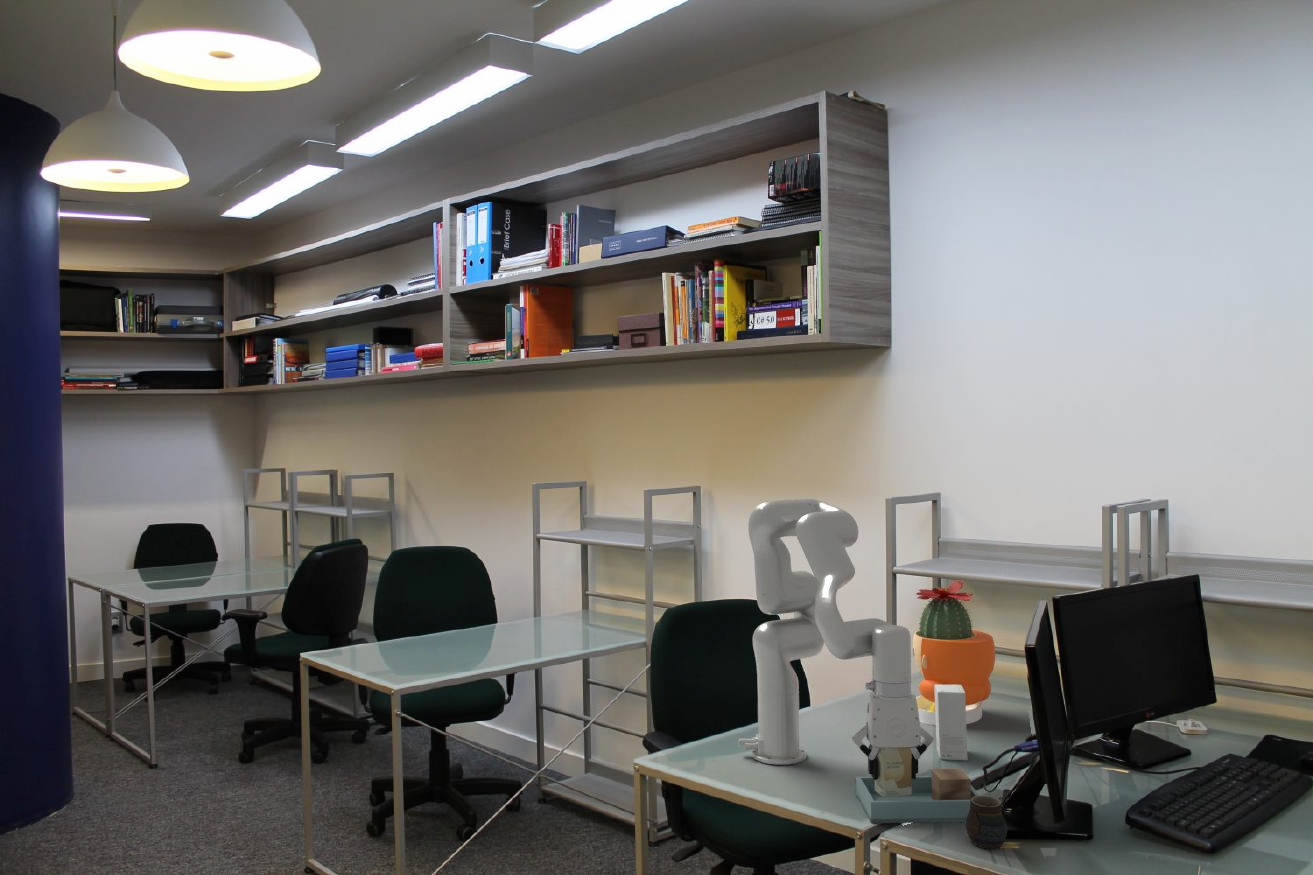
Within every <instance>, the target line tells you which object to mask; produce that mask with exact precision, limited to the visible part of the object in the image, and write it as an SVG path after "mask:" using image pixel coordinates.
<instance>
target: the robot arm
mask: <svg viewBox="0 0 1313 875" xmlns="http://www.w3.org/2000/svg"><path fill="white" fill-rule="evenodd" d="M748 518H749V519H748V523H747V524H748V529H747V530H748V536H749V540H750V545H751V547H752V552H753V559H754V560H753V561H754V577H755V578H754V579H755V592H756V595H755V596H756V601H757V606H758V608H759V610H760V611H761V612H762V613H763V614H766V615H769V616H771V615H772V616H774V615H782V614H783V615H785V614H793V616H794V617H793V618H792V617H791V618H783V619H776V620H771V621H766V622H764V623H761V624H760V625H758V626H757V628H755V630H754V631H753V634H752V647H753V652H754V657H755V658H754V659H755V663H756V674H757V678H756V679H757V681H756V682H757V724H758V725H757V727H758V728H757V731H758V732H757V733H755V736H752V737H751V738H738V748H744V749H745V750H751V756H752V758H753V759H754V760H756V761H758V762H760V763H763V764H769V765H776V766H777V765H778V766H779V765H780V766H782V765H783V766H784V765H794V764H795V765H796V764H798V763H799V764H800V763H801V762H803V761H804V760H805V759H807V751H806V750H805V749H804V748H803V747H801V746H800V695H799V694H800V691H799V688H800V687H799V686H800V685H799V684H800V683H799V678H798V676H797V673H796V671H795V669H794V668H793V666H792V664H791V661H796V660H801V659H807V658H812V657H815V656H817V655H819V654H820V653H821V652H822V650H823V649H824V648H823V647H824V645H825V647H826V648H827V649H828V651H829V653H831V655H833V656H834V657H835V658H836V659H839V660H852V659H853V660H854V659H858V658H864V657H865V658H866V657H872V658H871V659H872V660H871V661H872V665H871V666H872V678H871V680H870V682H865V684H864V685H865V690H866V691H868V690H869V691H871V693H869V696H868V702H867V709H866V711H867V712H866V719H865V720H866V722H865V723H866V724H865V725H864V726H863V727H862V728H860V730H859V731H858V732H856V733H855V734H854V735H852V737H851V739H852V741H853V743H854V744H855V745H856V746H857V747H858V748H859V750H860V751H861V752H862V753H863V754H864V755H865V756H866V757H867V770H868V774H869V775H871V776H870V777H873V779H874V780H877V779H878V761H877V759H876V754H877V752H878V750H879V748H910V750H911V752H912V779H916V776H917V774H919V760H920V758H921V756H922V755H923V754H924V753H925V752H926V751H927V750H928V747H929V746H930V745H932V743H933V741H935V740H934V737H933V736H932V734H930V733H929V732H927V730H925V729H924V728H923V727H921V724H920V723H921V722H920V721H919V712H918V705H917V700H916V697H917V696H916V695H914V694H913V693H912V652H911V651H912V649H911V643H912V642H911V641H912V639H911V632H910V630H909V629H908V628H907V627H906V626H902V625H896V624H891V623H888V622H887V621H885V620H883V619H880V618H874V617H872V618H864V619H855V620H854V619H853V620H848V621H844V620H843V617H842V615H841V613H840V610H839V608H838V605H837V593H838V590H839V589H841V588H843V587H844V586H846V585H847V584H848V583H849V582H851V580H852V579H853V578H854V576H855V575H856V568H855V566H854V563H853V562H852V560H851V558H850V555H849V554H848V552H847V550H846V548H849V547H852V546H853V545H855V543H857V540H858V538H859V527H858V523H857V521H856V520H855V518H854V517H853V515H852V514H850V512H848V511H847V510H844V509H842V508H840V507H837V506H835V505H832V504H830V503H827V502H824V501H822V500H818V499H815V498H800V499H799V498H797V499H780V500H779V499H777V500H770V501H765V502H762V503H760V504H758V505H757V506H756V507H754V508H753V510H752V511H751V513H750V515H749V517H748ZM784 537H785V538H786V537H796V538H797V540H798V543H799V545H800V547H801V548H802V549H801V550H802V551H803V553H804V555H805V558H806V560H807V562H808V565H809V566H810V567H809V568H810V569H811V571H812V573H811V572H808V571H805V570H795V571H794V570H793V571H792V561H791V560H792V559H791V553H790V551H789V549H788V547H787V545H786V544H785V542H784V541H783V540H782V538H784ZM865 737H866V739H867V741H868V742H869V745H868V746H867V745H866V744H865V743H864V742H863V741H862V740H863V739H864V738H865ZM922 738H923V739H922ZM921 739H922V741H921Z"/></svg>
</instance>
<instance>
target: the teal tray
mask: <svg viewBox="0 0 1313 875" xmlns="http://www.w3.org/2000/svg"><path fill="white" fill-rule="evenodd" d="M855 780H856V782H855V784H856V789H855V790H856V794H855V795H856V798H857V799H858V801H859V804H860V805H861V807H862V809H863V811H864V812H865V814H866V816H867V819H868V820H869V822H870V824H904V823H906V824H912V823H913V824H914V823H916V824H919V823H922V824H923V823H926V824H927V823H929V824H930V823H966V819H967V816H968V814H969V810H970V800H932V775H916V779H912V795H906V796H896V797H887V798H885V797H883V796H882V795H880V794H879V793H878V792H876V791H875V780H874V779H873V777H872V776H856V777H855ZM974 796H981V794H979V792H978V791H977V790H976V789H975V788H974V787H973V785H971V798H972V797H974Z"/></svg>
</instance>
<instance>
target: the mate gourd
mask: <svg viewBox="0 0 1313 875" xmlns="http://www.w3.org/2000/svg"><path fill="white" fill-rule="evenodd" d="M965 830H966V833H967V837H968V839H969V840H970V842H972V843H973V844H974V845H976V846H977V847H979V848H982V849H997V848H999V847H1001V846H1002V845H1003V844H1004V843H1005V842H1006V838H1007V835H1008V824H1007V820H1006V817H1005V814H1004V812H1003V802H1002V800H1000V799H998V798H997V797H993V796H990V795H983V794H982V795H981V794H980V796H974V797H972V798H971V800H970V810H969V814H968V816H967V819H966V822H965Z"/></svg>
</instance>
